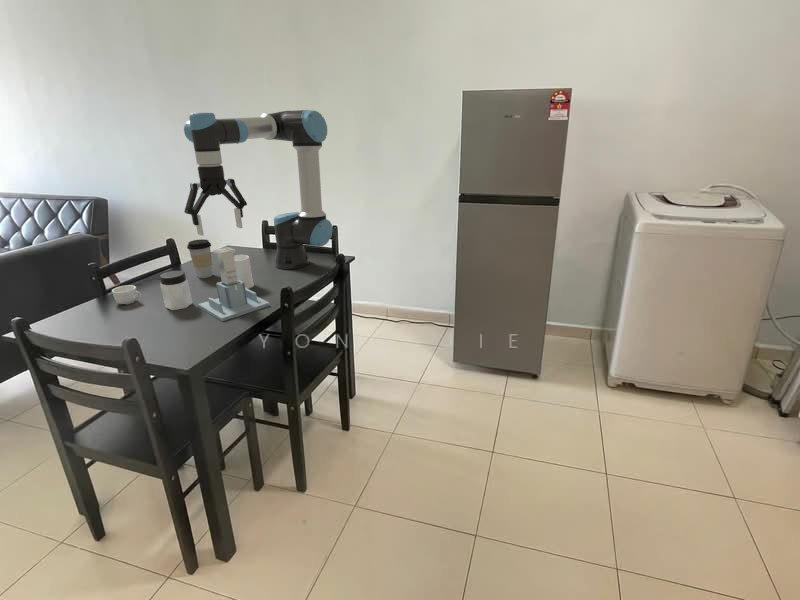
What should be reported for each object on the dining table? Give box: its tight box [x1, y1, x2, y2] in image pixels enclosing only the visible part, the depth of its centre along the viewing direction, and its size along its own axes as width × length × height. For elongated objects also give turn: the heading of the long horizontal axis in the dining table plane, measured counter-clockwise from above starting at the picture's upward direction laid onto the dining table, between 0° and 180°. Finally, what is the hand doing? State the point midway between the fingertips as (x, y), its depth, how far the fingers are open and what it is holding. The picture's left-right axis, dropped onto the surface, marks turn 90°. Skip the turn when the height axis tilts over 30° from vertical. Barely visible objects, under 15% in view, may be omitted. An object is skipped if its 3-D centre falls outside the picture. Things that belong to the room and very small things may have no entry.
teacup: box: [111, 284, 142, 305], centre depth 167 cm, size 10×8×5 cm
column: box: [213, 246, 238, 287], centre depth 158 cm, size 5×5×20 cm
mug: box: [234, 254, 255, 290], centre depth 178 cm, size 12×8×12 cm
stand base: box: [197, 280, 271, 322], centre depth 161 cm, size 18×18×9 cm
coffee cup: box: [186, 238, 213, 279], centre depth 191 cm, size 9×9×15 cm
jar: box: [159, 270, 193, 311], centre depth 162 cm, size 9×8×12 cm
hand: (220, 231), depth 152 cm, fingers open, 13 cm apart
